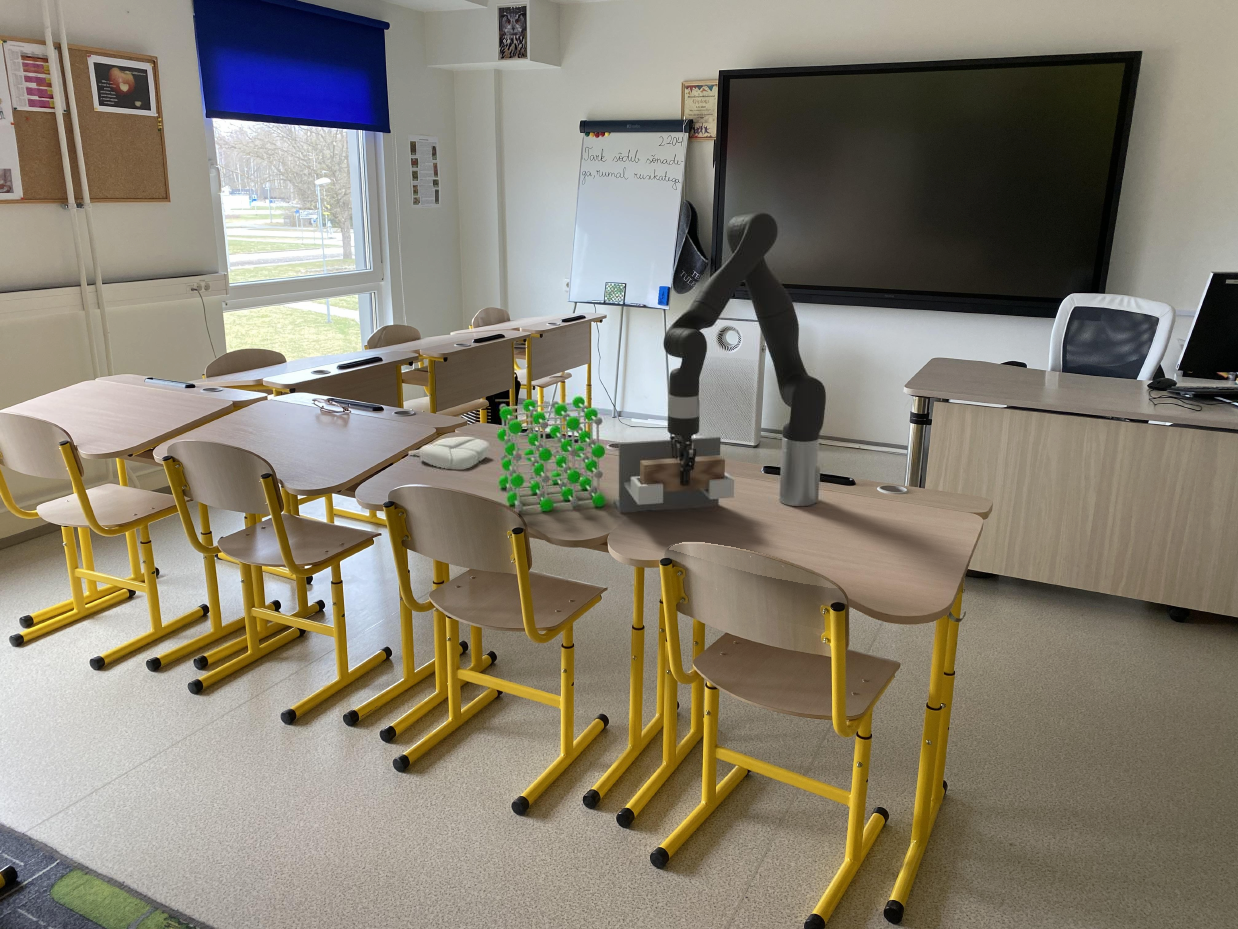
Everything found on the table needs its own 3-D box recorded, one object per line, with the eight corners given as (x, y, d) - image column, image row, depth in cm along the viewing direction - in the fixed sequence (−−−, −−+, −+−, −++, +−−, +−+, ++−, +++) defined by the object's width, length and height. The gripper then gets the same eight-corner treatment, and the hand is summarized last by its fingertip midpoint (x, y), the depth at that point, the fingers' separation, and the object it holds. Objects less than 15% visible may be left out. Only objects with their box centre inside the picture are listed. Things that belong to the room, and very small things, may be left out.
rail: (719, 482, 224) (720, 455, 222) (724, 487, 221) (725, 459, 219) (640, 488, 220) (640, 460, 218) (643, 493, 217) (643, 465, 214)
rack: (709, 496, 242) (711, 430, 237) (737, 524, 222) (740, 453, 217) (613, 503, 237) (613, 436, 231) (633, 533, 217) (633, 460, 211)
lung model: (466, 471, 263) (393, 470, 273) (495, 457, 279) (425, 456, 288) (463, 449, 262) (390, 448, 271) (493, 435, 277) (423, 435, 286)
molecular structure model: (512, 516, 228) (509, 422, 221) (498, 486, 251) (494, 399, 244) (606, 508, 234) (606, 415, 227) (584, 479, 257) (583, 394, 250)
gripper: (708, 419, 209) (706, 490, 214) (690, 405, 222) (688, 473, 227) (676, 421, 208) (675, 493, 213) (660, 407, 221) (659, 475, 226)
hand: (682, 482), depth 220 cm, fingers closed on rail, 3 cm apart
